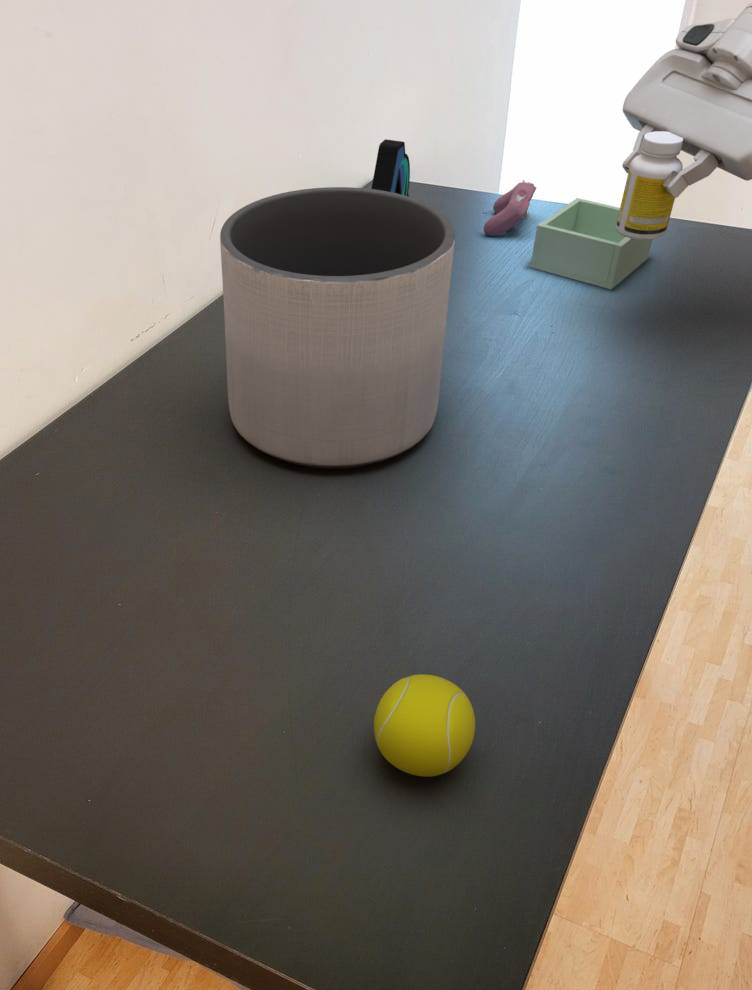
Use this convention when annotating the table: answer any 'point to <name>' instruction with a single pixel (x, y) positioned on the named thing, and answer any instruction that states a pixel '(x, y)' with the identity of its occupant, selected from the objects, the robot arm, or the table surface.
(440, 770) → the tennis ball
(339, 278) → the planter
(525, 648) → the table surface
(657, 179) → the supplement bottle
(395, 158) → the decorative sign
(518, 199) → the mauve lumpy piece
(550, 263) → the bin
